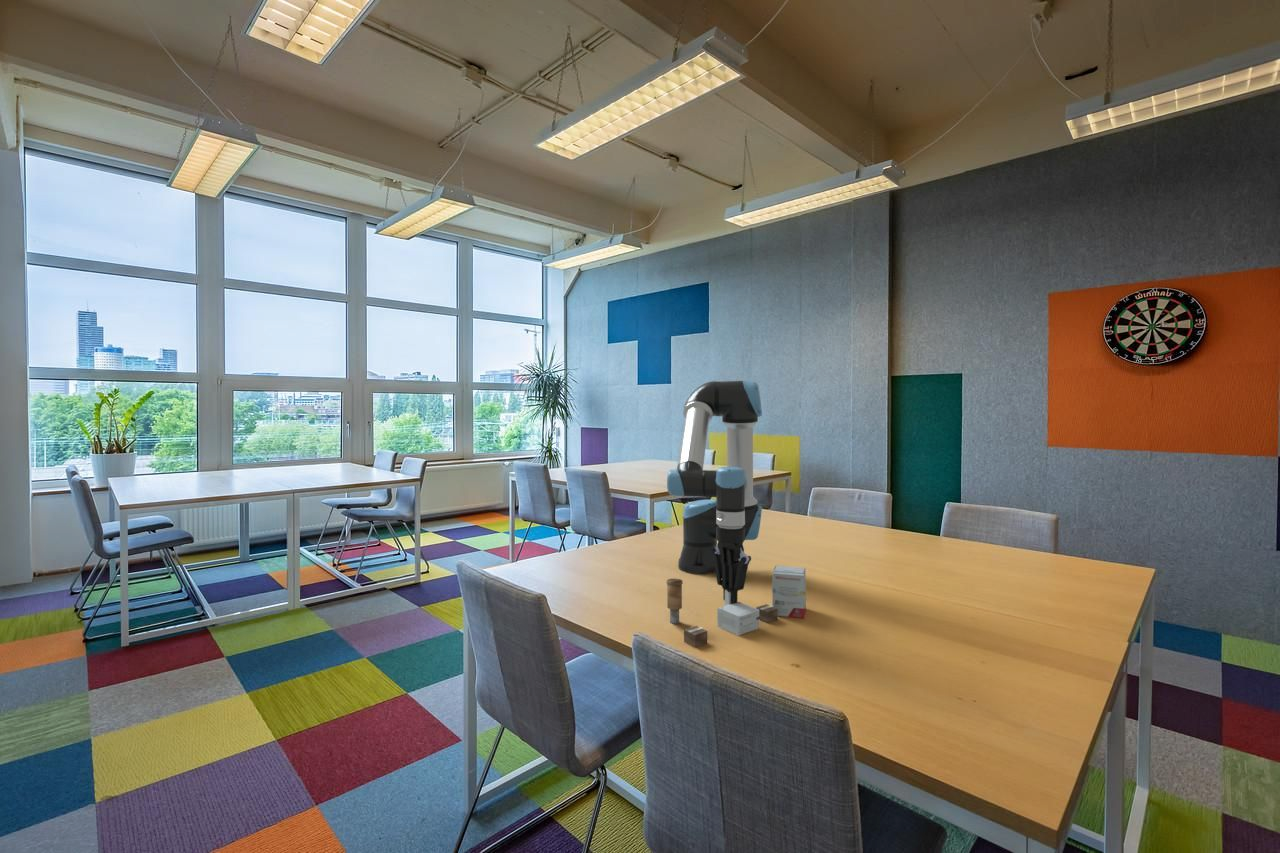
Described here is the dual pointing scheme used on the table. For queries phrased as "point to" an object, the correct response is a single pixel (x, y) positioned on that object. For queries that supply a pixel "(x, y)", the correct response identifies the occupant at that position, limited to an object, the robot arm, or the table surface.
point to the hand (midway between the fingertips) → (730, 613)
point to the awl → (674, 598)
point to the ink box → (789, 591)
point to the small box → (738, 618)
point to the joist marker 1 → (695, 636)
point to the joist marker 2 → (767, 613)
